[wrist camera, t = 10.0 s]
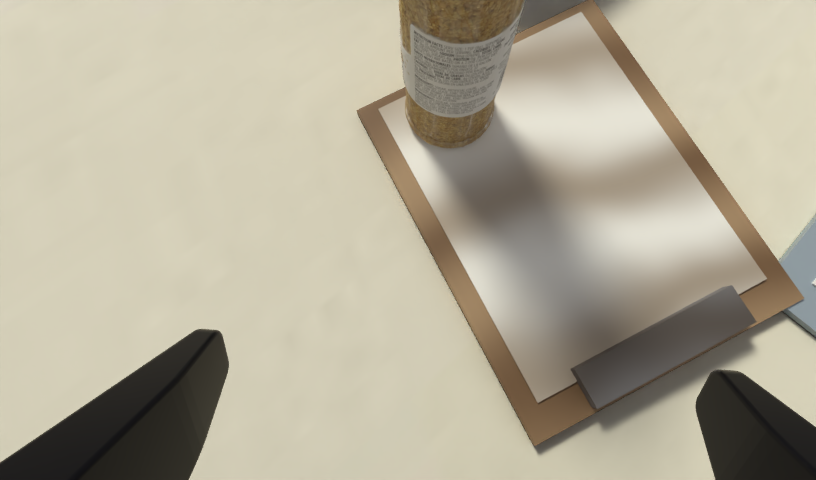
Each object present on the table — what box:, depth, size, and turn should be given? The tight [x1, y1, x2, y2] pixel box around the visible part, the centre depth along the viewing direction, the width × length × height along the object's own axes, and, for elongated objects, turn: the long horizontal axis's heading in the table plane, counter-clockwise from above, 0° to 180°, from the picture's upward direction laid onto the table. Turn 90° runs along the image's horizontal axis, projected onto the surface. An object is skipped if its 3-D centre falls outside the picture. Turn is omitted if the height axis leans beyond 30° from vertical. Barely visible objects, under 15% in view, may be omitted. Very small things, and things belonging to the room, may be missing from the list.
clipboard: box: [357, 0, 804, 446], centre depth 23 cm, size 18×14×1 cm
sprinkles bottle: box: [399, 0, 525, 148], centre depth 17 cm, size 5×5×13 cm
